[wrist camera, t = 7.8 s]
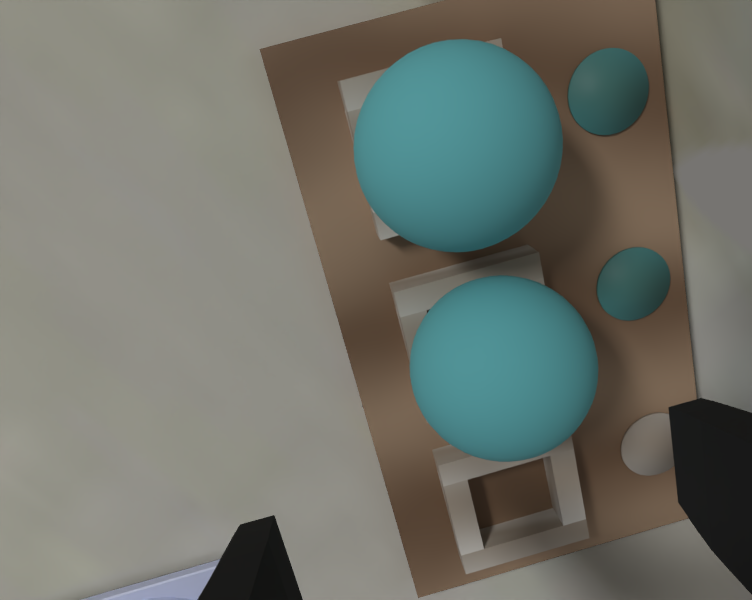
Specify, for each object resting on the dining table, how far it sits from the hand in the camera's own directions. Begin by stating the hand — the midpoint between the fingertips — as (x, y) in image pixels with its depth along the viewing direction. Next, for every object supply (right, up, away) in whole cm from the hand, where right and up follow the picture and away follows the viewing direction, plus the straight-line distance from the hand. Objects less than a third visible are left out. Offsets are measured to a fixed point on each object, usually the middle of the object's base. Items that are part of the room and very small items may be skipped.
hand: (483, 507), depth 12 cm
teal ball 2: (+1, +2, +6) cm, 7 cm away
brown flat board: (+2, +3, +10) cm, 11 cm away
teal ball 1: (0, +7, +4) cm, 9 cm away
